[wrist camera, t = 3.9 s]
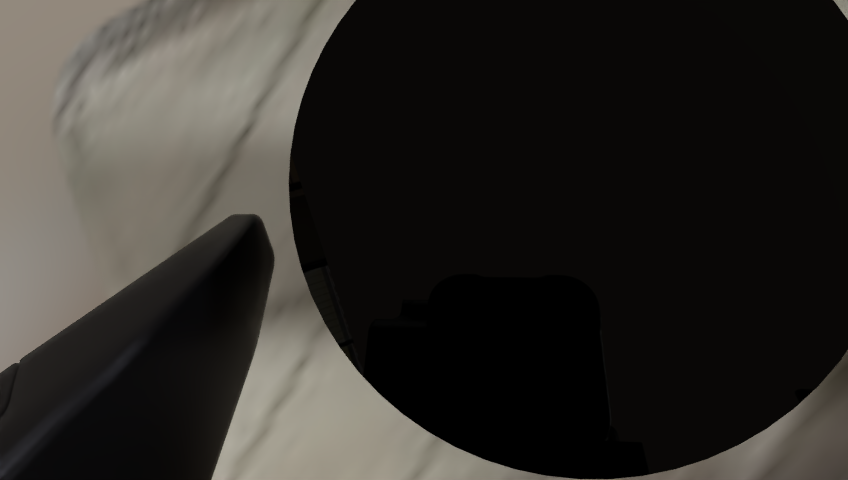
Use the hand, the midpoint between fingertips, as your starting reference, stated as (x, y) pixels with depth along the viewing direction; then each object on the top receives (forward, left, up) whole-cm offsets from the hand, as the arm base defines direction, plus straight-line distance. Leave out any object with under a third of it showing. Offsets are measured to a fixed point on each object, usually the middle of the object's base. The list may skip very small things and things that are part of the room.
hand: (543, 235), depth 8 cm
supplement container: (+1, 0, -8) cm, 8 cm away
